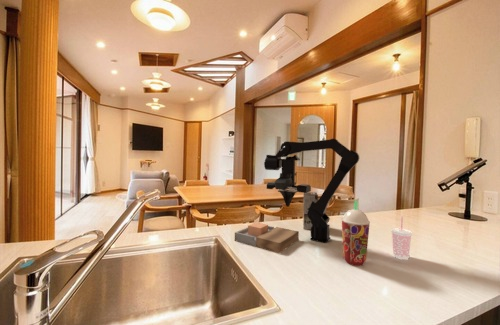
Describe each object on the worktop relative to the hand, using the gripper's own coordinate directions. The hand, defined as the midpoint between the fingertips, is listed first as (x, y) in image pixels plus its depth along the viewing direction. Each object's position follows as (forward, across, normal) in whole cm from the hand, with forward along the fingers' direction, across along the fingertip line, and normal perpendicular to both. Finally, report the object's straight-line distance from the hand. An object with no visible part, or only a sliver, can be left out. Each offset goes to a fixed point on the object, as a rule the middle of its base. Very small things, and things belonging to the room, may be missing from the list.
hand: (287, 206), depth 105 cm
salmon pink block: (+10, -7, -12) cm, 17 cm away
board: (+12, +2, -12) cm, 17 cm away
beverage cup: (+12, +42, +2) cm, 44 cm away
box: (+12, -8, -12) cm, 19 cm away
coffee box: (+12, +4, +16) cm, 21 cm away
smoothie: (+12, +30, -12) cm, 35 cm away
